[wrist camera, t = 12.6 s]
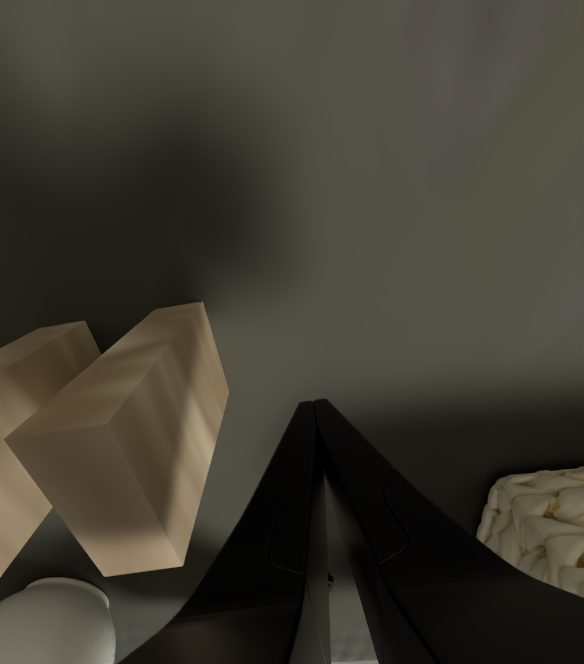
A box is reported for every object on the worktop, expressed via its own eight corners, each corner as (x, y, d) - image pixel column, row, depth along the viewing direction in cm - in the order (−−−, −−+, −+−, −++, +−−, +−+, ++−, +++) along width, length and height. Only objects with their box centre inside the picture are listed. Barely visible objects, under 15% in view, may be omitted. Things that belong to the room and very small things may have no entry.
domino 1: (84, 320, 13) (-149, 461, 6) (126, 407, 15) (-11, 592, 8) (39, 328, 13) (-248, 477, 6) (86, 413, 16) (-87, 603, 8)
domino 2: (202, 301, 13) (107, 423, 6) (229, 391, 15) (182, 566, 8) (155, 309, 13) (3, 439, 6) (187, 398, 15) (104, 576, 8)
